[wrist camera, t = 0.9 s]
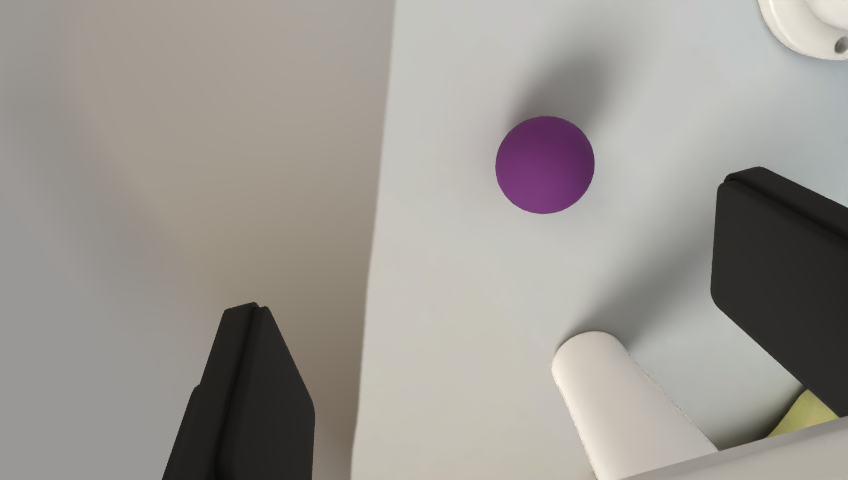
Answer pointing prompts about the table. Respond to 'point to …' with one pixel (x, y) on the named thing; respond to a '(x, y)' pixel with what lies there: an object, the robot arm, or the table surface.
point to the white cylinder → (622, 410)
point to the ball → (545, 165)
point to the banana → (804, 414)
